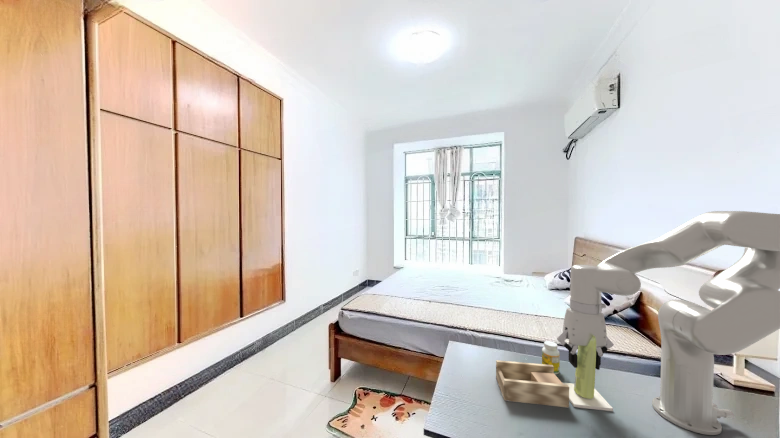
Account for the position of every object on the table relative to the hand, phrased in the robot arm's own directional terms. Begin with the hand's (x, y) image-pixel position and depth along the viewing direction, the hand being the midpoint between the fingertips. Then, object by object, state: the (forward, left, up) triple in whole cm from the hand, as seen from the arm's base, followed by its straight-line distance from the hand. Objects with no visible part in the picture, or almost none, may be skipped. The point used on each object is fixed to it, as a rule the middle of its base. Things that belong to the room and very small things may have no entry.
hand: (584, 365), depth 80 cm
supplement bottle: (+4, -13, -10) cm, 17 cm away
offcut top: (+10, 0, -8) cm, 13 cm away
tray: (+15, 0, -10) cm, 18 cm away
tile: (0, 0, -10) cm, 10 cm away
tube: (0, 0, -9) cm, 9 cm away
